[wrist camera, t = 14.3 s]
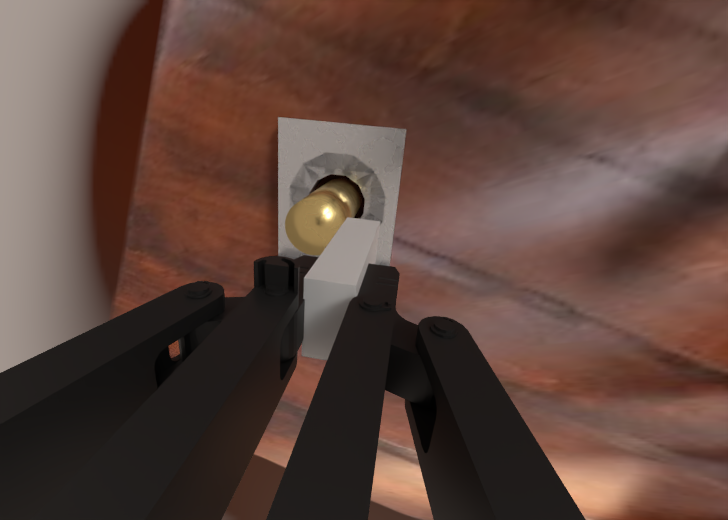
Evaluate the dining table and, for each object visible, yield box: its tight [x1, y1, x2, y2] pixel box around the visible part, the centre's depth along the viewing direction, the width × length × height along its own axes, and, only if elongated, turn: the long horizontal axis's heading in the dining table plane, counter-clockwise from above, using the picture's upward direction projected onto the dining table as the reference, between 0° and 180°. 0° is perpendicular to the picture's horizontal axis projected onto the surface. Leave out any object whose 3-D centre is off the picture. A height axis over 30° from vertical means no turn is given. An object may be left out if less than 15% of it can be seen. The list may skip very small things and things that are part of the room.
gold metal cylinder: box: [285, 178, 361, 255], centre depth 32 cm, size 4×4×11 cm
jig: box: [278, 117, 407, 266], centre depth 35 cm, size 15×12×4 cm
